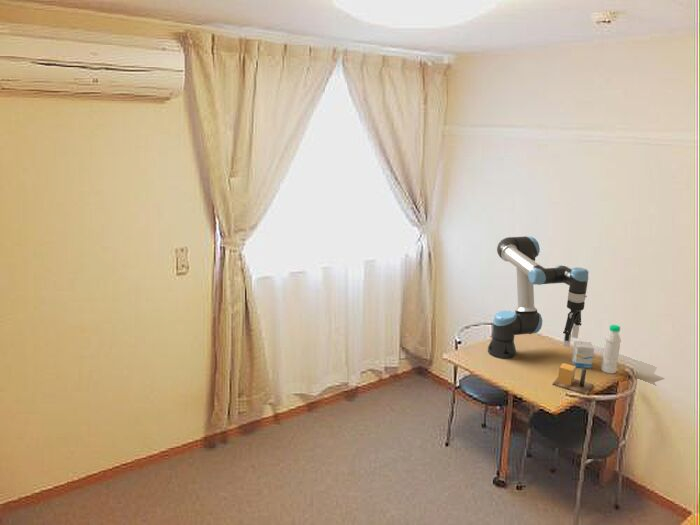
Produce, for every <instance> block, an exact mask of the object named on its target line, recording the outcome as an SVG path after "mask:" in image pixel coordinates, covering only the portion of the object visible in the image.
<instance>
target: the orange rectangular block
mask: <svg viewBox="0 0 700 525" xmlns="http://www.w3.org/2000/svg"><path fill="white" fill-rule="evenodd" d="M576 369H577V367H576V366H574V365H572V364H568V363H565V362H562V364H561V365H560V366H559V369H558V377H557V378H558V382H559V383H562V384H566V385H569V386H571V384H572V383H573V382H574V379H575V375H576Z"/></svg>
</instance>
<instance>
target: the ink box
mask: <svg viewBox="0 0 700 525" xmlns="http://www.w3.org/2000/svg"><path fill="white" fill-rule="evenodd" d="M594 353H595V347H594V346H593V344H592V342H591V341H581V340H574V342H573V348H572V355H571V362H572V364H573V366H576V368H581V369H583V368H584V369H589V370H590V369H592V367H593V359H594Z"/></svg>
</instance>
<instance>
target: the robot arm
mask: <svg viewBox="0 0 700 525" xmlns="http://www.w3.org/2000/svg"><path fill="white" fill-rule="evenodd" d="M496 252H497V254H498V257H499V258H501V259H502V260H503V261H505V262H509V263H510V264H512V265H513V266H515V267H516V286H517V289H516V290H517V307H516V308H515V311H512V310H500V311H498V312H496V313H495V314H494V316H493V320H492V323H493V324H492V334H491V335H492V336H491V340H490V342H489V344H488V346H487V352H488V354H489V355H491V356H493V357H495V358H498V359H512V358H514V357H516V355H517V349H516V344H515V336H520V335H533V334H537V333H539V332H540V330H541V329H542V327H543V318H542V315H541V313H539V312H538V309H537V308H536V306H535V293H534V292H535V291H534V285H538V286H539V285H550V284H551V285H553V284H566V285H568V286H569V287H568V288H569V289H568V294H567V302H566V307H567V309H569V310H570V311H569V313H567V317H566V322H565V326H564V331H562V332H563V334H564V338H563V339H564V340H563V347H566V348H570V346H571V341H572V340H571V339H572V338H573V339H578V338H579V333H580V332H579V331H580V327H581V326H582V311H583V310H584V309H585V301H586V298H587V295H586V294H587V289H588V282H589V273H590V272H589V271H588V269H586V268H583V267H572V268H570V267H569V266H566V265H562V264H561V265H556V266H555V267H549V268H547V267H546V268H545V267H544V266H542V265H541V264H539V263H537V261H536V258H537V257H538V256H539V255H540V252H541V249H540V244H539V242H538V240H537V239H536V238H535V237H533V236H510V237H509V236H508V237H505V238H503V239H501V240H500V241H499V243H498V244H497V247H496Z"/></svg>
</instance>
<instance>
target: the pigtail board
mask: <svg viewBox="0 0 700 525" xmlns="http://www.w3.org/2000/svg"><path fill="white" fill-rule="evenodd" d="M580 372H581V373H580V379H577V378H574V382H573V383H572V384H571V386H569V385H566V384H562V383H559V382H558V377H556V379H555V380H554V381H553V382H552V386H554V385H555V387H558V388H561V387H562V389H564V388H565V389H564V390H569V391H572V392H575V393H578V394H581V393H582V395H584V394H587V395H589V393H590V392H591V390H592V389H593V388H594V383H591V382H587V381H586V375H587V374H586V373H587V368H581V371H580Z"/></svg>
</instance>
